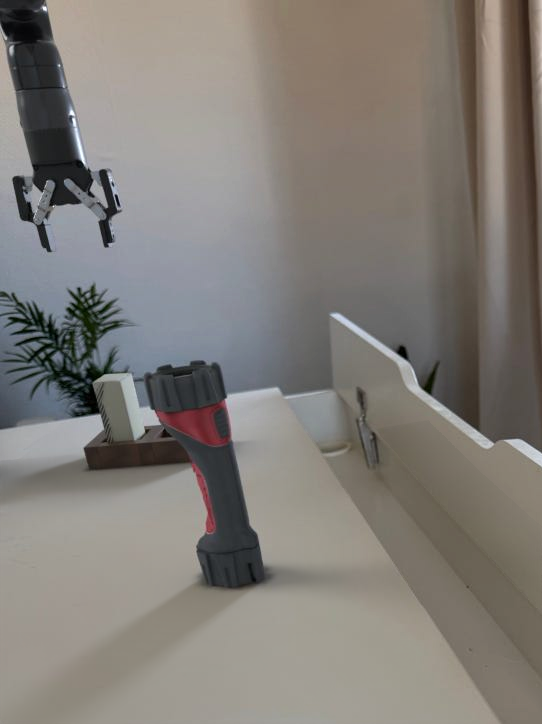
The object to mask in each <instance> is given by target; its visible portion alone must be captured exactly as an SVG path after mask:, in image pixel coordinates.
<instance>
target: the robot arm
mask: <svg viewBox="0 0 542 724" xmlns="http://www.w3.org/2000/svg"><path fill="white" fill-rule="evenodd" d="M0 34H1V36H2V40H3V42H4V46H5V53H6V60H7V61H6V62H7V65H8V69H9V73H10V77H11V81H12V85H13V90H14V91H15V92H14V94H15V99H16V100H15V101H16V106H17V114H18V117H19V124H20V128H21V129H22V133H23V137H24V141H25V145H26V149H27V153H28V157H29V161H30V164H31V168H32V175H30V176H29V175H28V176H27V175H20V174H19V175H14V176H13V177H12V179H11V181H12V185H13V191H14V194H15V200H16V206H17V210H18V215H19V219H20V220H21V221H23V222H27V223H31V224H34V226H35V227H36V230H37V235H38V237H39V242H40V246H41V247H42V249H45V250H46V252H47V253H54V252H57V245H56V242H55V238H54V234H53V230H52V226H51V224H50V223H49V222H48V221H49V219H50V216H51V214H52V212H53V211H54V209H55V207H62V206H67V205H72V206H76V205H81V204H83V205H84V206H85V207H86V208H87V209H89V210H90V211H91V212H92V213H93V214H94V215H95V216H96V217H97V218H98V219H99V220H97V222H98V227H99V231H100V236H101V239H102V245H103V248H105V249H108V248H112V247H113V246H114V243H115V242H116V234H115V230H114V226H113V220H112V219H113V217H115V216H116V215H118V214H120V213H122V212H123V207H122V206H123V205H122V203H121V199H120V195H119V192H118V187H117V183H116V181H115V177H114V173H113V171H112V169H110V168H101V169H99V170H94V171H92V170H91V169H90V167H89V165H88V160H87V156H86V155H87V154H86V151H85V146H84V142H83V138H82V134H81V129H80V126H79V125H80V124H79V121H78V116H77V112H76V108H75V104H74V101H73V99H72V96H71V92H70V89H69V85H68V81H67V77H66V76H67V75H66V73H65V68H64V63H63V59H62V57H61V54H60V51H59V48H58V46H57V45H56V43H55V39H54V34H53V28H52V25H51V19H50V13H49V10H48V3H47V0H0ZM94 181H95V182H96V183H97V185H98V186H99V187H102V190H103V194H104V197H105V201H106V204H107V207H106V205H104V204H103V203H102V201H101V199H100V198H99V197H98V196H97V195H96V194H95V193H94V192H93V191H92V190H91V188H92V186H93V183H94ZM33 186H34V187H35V188H37V190H39V192H41V195H40V199H39V201H38V203H37V208H36V211H34V206H33V202H32V197H31V192H32V191H33Z"/></svg>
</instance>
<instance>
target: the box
mask: <svg viewBox="0 0 542 724" xmlns="http://www.w3.org/2000/svg"><path fill="white" fill-rule="evenodd" d="M92 387H93V390H94V394H95V398H96V403H97V407H98V410H99V414H100V419H101V422H102V426H103V430H104V431H105V434H106V439H107V442H118V441H130V440H141V439H142V438H143V437H144V436H145V435H146V434H145V429H144V426H145V425H144V420H143V417H142V412H141V407H140V403H139V399H138V395H137V391H136V387H135V382H134V378H133V374H132V372H123V373H121V372H120V373H106V374H103V375H102V376H101V377H99V378H96V379H95V380H94V381H93V382H92Z"/></svg>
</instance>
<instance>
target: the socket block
mask: <svg viewBox="0 0 542 724" xmlns="http://www.w3.org/2000/svg"><path fill="white" fill-rule="evenodd" d="M144 429H145V434H146V435H145V436H144V437H143V438H142V439H141V440H130V441H118V442H107V439H106V434H105V431H104V429H102V430H101V431H100V432H99V433H97V435H96V436H95V437H93V438H92V439H91V440H90V441H89V442H88V443H87V444H86V445H85V446H83V447H82V448H83V452H84V456H85V459H86V463H87V467H88V471H96V470H108V469H109V470H110V469H122V468H132V467H145V466H158V465H159V466H160V465H169V464H170V465H171V464H182V463H191V462H192V460H191V462H190V457H189V455H188V453H187V451H186V450H185V448H184V447H183V446H182V445H181V444H180V443H179V442H178V441H177V440H176V439H175V438H174V437H173V436H172V435H170V434H169V433H168V432H167V431H166V430H165V429H164V427H163V426H162V425H161V424H155V425H144ZM192 463H193V462H192Z"/></svg>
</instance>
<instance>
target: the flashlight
mask: <svg viewBox="0 0 542 724" xmlns="http://www.w3.org/2000/svg"><path fill="white" fill-rule="evenodd" d="M142 378H143V385H144V388H145V392H146V393H145V394H146V397H147V400H148V405H149V409H150V410H151V411H154V413H155V416H156V417H157V419H158V422H159V423H160V424H159V425H162V426H163V427H164V429H165V430H166V431H167V432H168V433H169V434H170V435H172V436H173V437H174V438H175V439H176V440H177V441H178V442H179V443H180V444H181V445H182V446H183V447H184V448H185V450H186V451H187V453H188V455H189V457H190V462H189V463H190V464H191V468H192V471H193V473H194V474H195V477H196V482H197V485H198V487H199V489H200V492H201V495H202V500H203V503H204V506H205V508H206V509H205V510H206V512H207V515H206V518H205V519H206V520H205V532H204V534H203V535H202V536H201V537H200V538H199V539H198V542H197V544H196V545H195V547H196V550H195V553H196V556H197V559H198V562H199V565H200V569H201V573H202V575H203V580H204V582H205V584H206V585H209V586H210V587H213V586H214V587H215V586H218V587H224V588H225V589H237V588H239V587H241V586H245V585H249V584H260V583H262V582H264V581H265V580H266V579H267V576H266V570H265V566H264V561H263V556H262V549H261V545H260V539H259V535H258V533H257V531H256V530H254V529H253V527H252V526H251V524H250V517H249V512H248V507H247V502H246V498H245V494H244V489H243V483H242V479H241V473H240V469H239V464H238V460H237V456H236V451H235V446H234V441H233V439H232V435H233V434H232V425H231V420H230V415H229V409H228V407H227V403H226V399H228V396H229V395H228V392H227V388H226V384H225V383H226V382H225V379H224V373H223V370H222V367H221V364H220V363H219V362H217V361H213V362H211V363H210V364H207V362H206V361H205V360H202V359H200V360H199V359H197V360H190V361H189V365H181V366H175V367H173V365H172V364H171V363H170V364H169V363H168V364H164V365H161V366H158V367H157V368H156V370H155V372H154V373H152V372H151V371H147V372H145V373H144V374H143V377H142ZM191 460H192V462H191Z"/></svg>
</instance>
